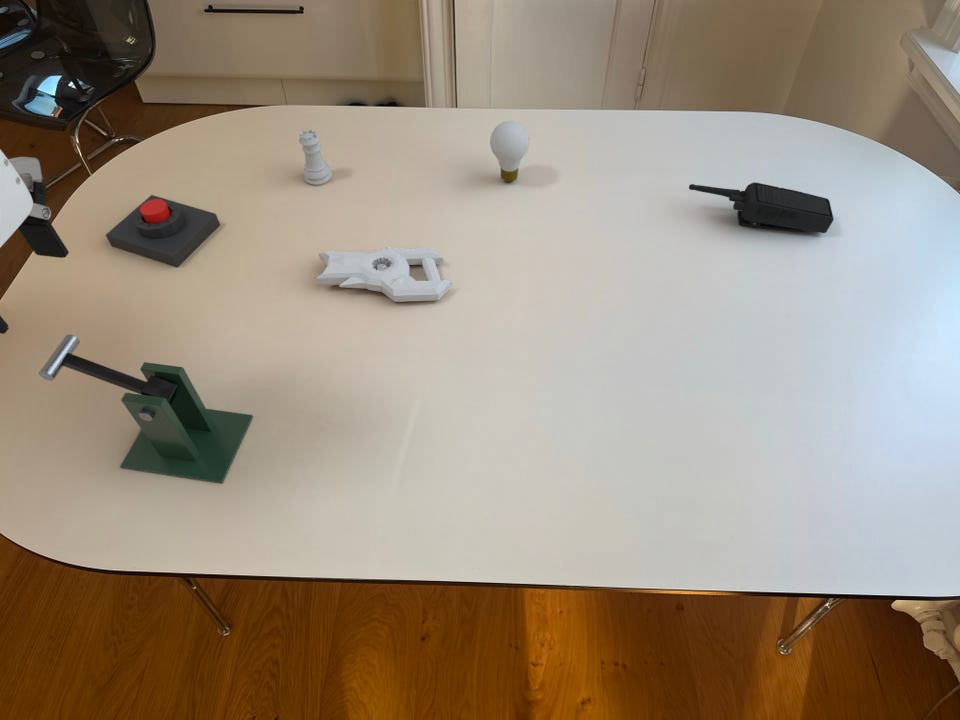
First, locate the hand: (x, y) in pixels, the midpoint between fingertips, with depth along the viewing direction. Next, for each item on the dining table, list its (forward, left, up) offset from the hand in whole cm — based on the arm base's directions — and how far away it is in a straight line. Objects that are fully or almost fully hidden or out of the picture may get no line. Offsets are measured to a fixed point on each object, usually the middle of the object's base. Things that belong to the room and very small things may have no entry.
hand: (24, 290), depth 64 cm
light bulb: (+51, +41, -23) cm, 69 cm away
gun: (+31, +21, -23) cm, 44 cm away
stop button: (-1, +35, -20) cm, 40 cm away
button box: (-1, +35, -23) cm, 42 cm away
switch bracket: (+8, -3, -23) cm, 25 cm away
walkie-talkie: (+85, +26, -23) cm, 92 cm away
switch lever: (+3, -2, -12) cm, 13 cm away
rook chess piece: (+21, +46, -23) cm, 56 cm away
